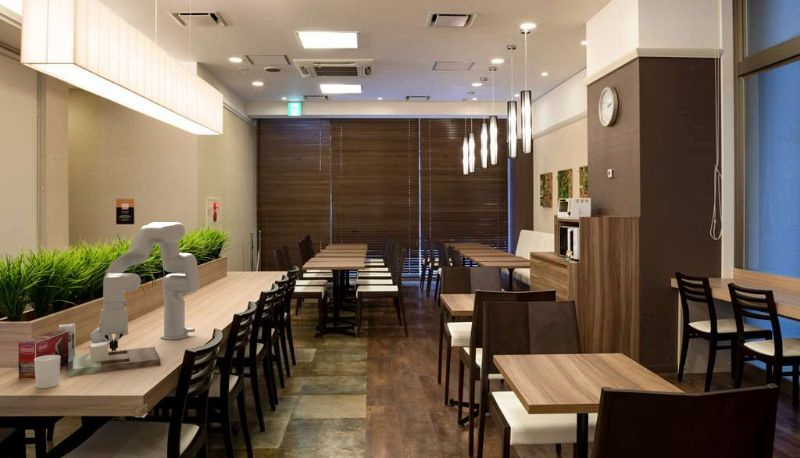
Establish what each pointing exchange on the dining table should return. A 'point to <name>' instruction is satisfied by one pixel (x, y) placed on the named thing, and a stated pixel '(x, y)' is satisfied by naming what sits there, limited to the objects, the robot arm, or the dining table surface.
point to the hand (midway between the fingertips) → (113, 350)
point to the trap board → (112, 361)
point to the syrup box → (69, 334)
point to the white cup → (47, 371)
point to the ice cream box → (42, 351)
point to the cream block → (99, 351)
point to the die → (97, 337)
